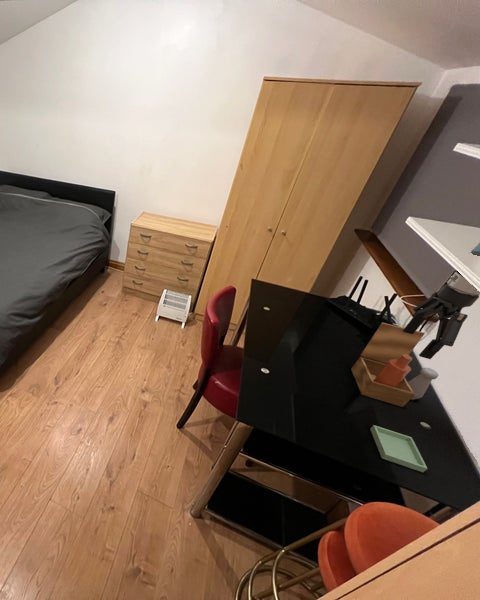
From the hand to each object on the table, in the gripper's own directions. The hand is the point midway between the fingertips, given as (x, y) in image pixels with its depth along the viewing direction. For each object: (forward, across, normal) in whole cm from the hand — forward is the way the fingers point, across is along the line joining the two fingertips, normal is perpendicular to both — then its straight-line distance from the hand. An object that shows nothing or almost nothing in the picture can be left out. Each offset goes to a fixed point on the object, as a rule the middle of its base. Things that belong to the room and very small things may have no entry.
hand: (415, 344), depth 105 cm
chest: (+25, -5, +2) cm, 25 cm away
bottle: (+24, -3, +2) cm, 24 cm away
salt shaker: (+25, -6, +13) cm, 29 cm away
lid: (+10, -13, +2) cm, 16 cm away
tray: (+25, +24, 0) cm, 35 cm away
